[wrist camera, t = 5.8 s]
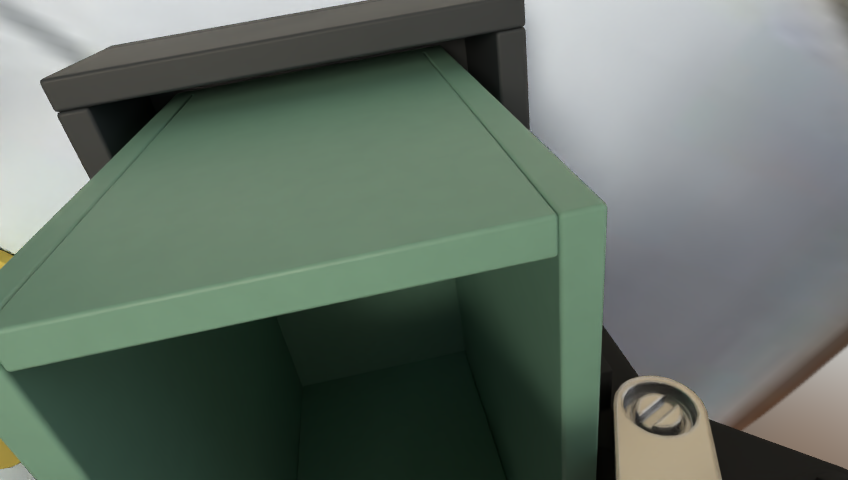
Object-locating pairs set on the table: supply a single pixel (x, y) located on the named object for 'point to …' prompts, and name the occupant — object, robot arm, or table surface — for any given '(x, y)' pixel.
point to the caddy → (314, 292)
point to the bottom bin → (281, 61)
